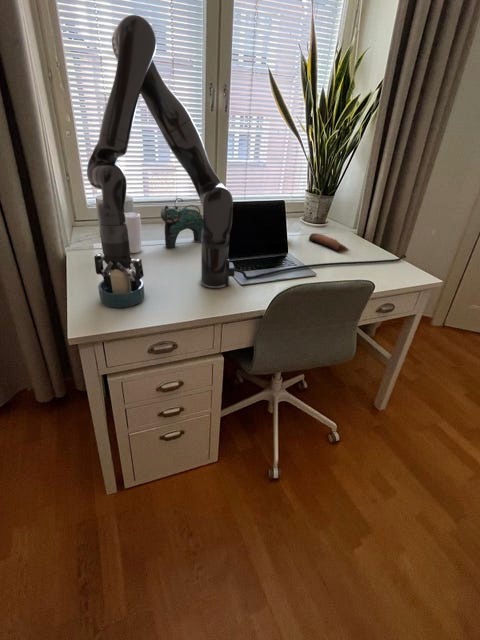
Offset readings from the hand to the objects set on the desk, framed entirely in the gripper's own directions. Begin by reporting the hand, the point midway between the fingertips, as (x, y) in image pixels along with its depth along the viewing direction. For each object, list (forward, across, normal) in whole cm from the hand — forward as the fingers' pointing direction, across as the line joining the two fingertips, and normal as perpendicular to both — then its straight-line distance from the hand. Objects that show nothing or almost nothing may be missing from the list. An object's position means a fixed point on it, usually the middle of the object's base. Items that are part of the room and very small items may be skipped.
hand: (121, 288), depth 108 cm
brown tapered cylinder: (+4, -66, -75) cm, 100 cm away
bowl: (+4, 0, 0) cm, 4 cm away
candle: (+3, 0, 0) cm, 3 cm away
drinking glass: (+4, +14, -39) cm, 41 cm away
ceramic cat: (+4, -2, -54) cm, 54 cm away
